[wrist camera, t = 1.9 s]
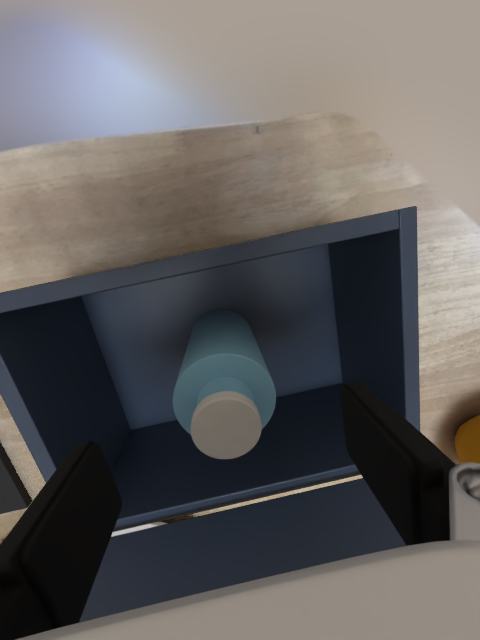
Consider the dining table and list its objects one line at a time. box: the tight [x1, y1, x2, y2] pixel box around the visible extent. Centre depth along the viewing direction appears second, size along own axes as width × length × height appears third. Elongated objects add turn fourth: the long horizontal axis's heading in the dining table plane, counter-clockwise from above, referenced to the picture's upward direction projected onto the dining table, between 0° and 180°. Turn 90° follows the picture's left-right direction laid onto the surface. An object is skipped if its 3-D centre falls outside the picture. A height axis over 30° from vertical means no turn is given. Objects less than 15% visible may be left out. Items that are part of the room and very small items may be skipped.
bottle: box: [173, 310, 276, 459], centre depth 16 cm, size 5×5×11 cm
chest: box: [0, 206, 420, 532], centre depth 17 cm, size 14×20×9 cm
